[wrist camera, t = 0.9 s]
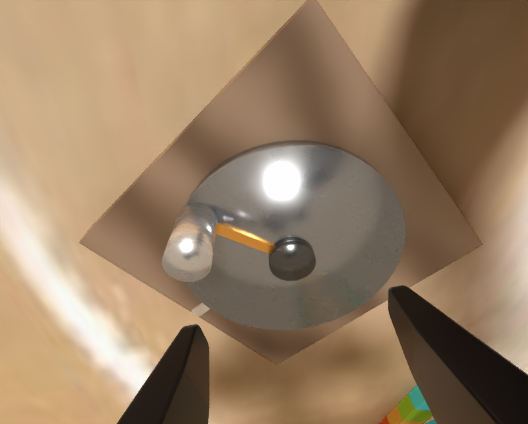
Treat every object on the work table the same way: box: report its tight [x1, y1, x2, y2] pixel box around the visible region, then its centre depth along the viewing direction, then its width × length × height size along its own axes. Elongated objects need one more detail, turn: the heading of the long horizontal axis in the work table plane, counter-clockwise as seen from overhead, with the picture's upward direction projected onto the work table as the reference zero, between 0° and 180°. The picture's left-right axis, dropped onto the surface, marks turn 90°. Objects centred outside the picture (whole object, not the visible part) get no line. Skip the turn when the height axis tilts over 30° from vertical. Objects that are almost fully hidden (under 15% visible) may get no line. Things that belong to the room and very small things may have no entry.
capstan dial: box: [162, 140, 406, 330], centre depth 19 cm, size 15×15×5 cm
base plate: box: [79, 0, 483, 365], centre depth 22 cm, size 20×20×2 cm
